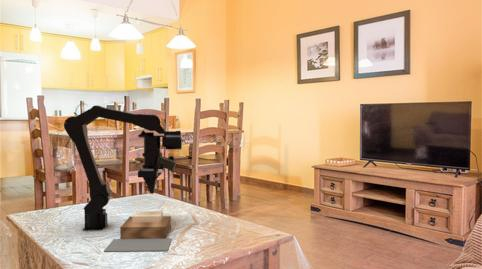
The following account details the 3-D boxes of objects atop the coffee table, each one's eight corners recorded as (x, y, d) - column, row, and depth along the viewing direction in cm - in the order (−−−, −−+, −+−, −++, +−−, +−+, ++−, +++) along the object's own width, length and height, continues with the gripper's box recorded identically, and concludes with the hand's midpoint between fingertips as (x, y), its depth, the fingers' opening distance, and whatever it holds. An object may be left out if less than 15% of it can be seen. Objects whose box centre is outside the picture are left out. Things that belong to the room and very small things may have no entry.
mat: (103, 252, 103) (103, 250, 103) (113, 239, 113) (113, 238, 113) (167, 251, 104) (167, 250, 104) (172, 239, 114) (171, 238, 114)
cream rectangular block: (132, 222, 118) (132, 216, 118) (136, 217, 124) (136, 211, 124) (160, 222, 118) (160, 216, 118) (163, 217, 124) (163, 211, 124)
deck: (120, 239, 113) (120, 227, 113) (129, 227, 125) (129, 216, 125) (165, 239, 114) (165, 226, 114) (170, 227, 126) (170, 216, 126)
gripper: (171, 152, 119) (171, 199, 120) (178, 147, 138) (178, 188, 138) (137, 152, 118) (137, 199, 119) (148, 147, 137) (148, 188, 138)
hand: (152, 193), depth 129 cm, fingers closed
